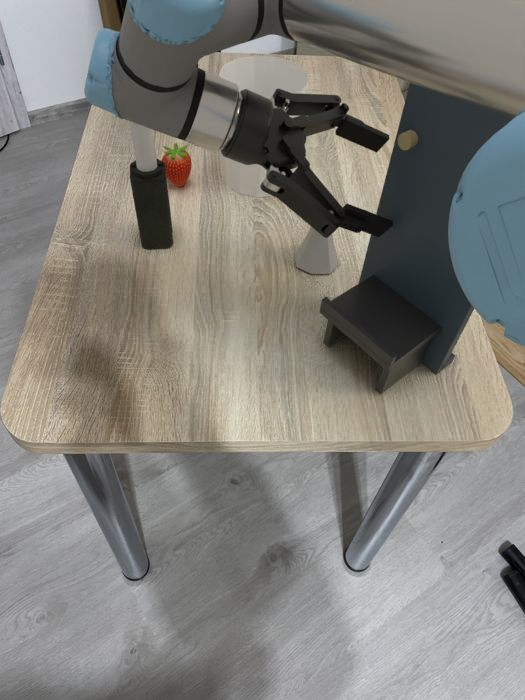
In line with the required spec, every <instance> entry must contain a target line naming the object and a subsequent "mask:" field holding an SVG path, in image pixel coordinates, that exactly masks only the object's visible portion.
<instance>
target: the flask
mask: <svg viewBox="0 0 525 700" xmlns="http://www.w3.org/2000/svg"><path fill="white" fill-rule="evenodd" d="M329 212H330V213H333V211H331V210H330V211H329ZM294 261H295V266H296V268H298V269H300V270H302V271H304V272H306V273H308V274H310V275H330V274H332V273H333V271H334V270H335V269H336V268H337V266H339V264H340V263H339V257H338V254H337V250H336V247H335V241H334V236H333V233H332V234H331V235H330V236H329V237H328V238H325V237H323V236H322V235H321V234H319V233H318V232H317V231H316V230H315V229H314V228H312V227H311V226H310V229H309V230H308V232H307V234H306V236H305V237H304V239H303V241H302V242H301V243H300V245H299V247H298V248H297V249H296V251H295V252H294Z"/></svg>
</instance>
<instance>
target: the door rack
mask: <svg viewBox="0 0 525 700" xmlns="http://www.w3.org/2000/svg"><path fill="white" fill-rule="evenodd" d="M405 97H406V98H405V100H404V103H403V108H402V111H401V116H400V120H399V124H398V127H397V131H396V135H395V139H394V143H393V147H392V151H391V155H390V159H389V161H388V162H389V163H388V166H387V171H386V175H385V178H384V183H383V186H382V191H381V194H380V198H379V201H378V206H377V209H376V213H375V214H376V215H379V216H381V217H384V218H387V219H389V220H392V221H393V226H392V227H391V228H390V229H388V230H387V231H386V232H385V233H384V234H382V235H381V236H380V237H377V236H374V235H371V234H370V237H369V240H368V245H367V248H366V252H365V256H364V260H363V264H362V268H361V271H360V272H361V273H360V276H359V280H358V283H357V284H355V285H354V286H353V287H351V288H349V289H347V290H346V291H344V292H342V293H341V294H339V295H338V296H337V297H335V298H333V299H331V298H328V297H327V296H325V297H323V298H321V301H320V307H319V314H320V315H322V316H323V317H324V318H325V319H326V320H327V324H326V328H325V333H324V338H323V345H325V346H326V347H327V348H329V347H331V346H332V345H334V344H335V343H337V342H338V341H340V340H341V339H343V338H344V337H345V336H346V337H347V338H348V339H349V340H351V341H352V342H353V343H355V344H356V345H357V346H358V347H359V348H360V349H361V350H363V351H364V352H365V353H366V355H368V356H370V357H371V358H372V360H374V361H375V362H376V363H378V364H379V365H380V366H381V367H382V370H381V373H380V375H379V378H378V381H377V384H376V386H375V392H377V393H378V394H379V395H382V394H383V393H385V392H386V391H387V390H389V389H390V388H391V387H392V386H394V385H395V384H396V383H397V382H399V381H401V380H402V379H403V378H404V377H406V376H407V375H408V374H410V373H411V372H413V370H415V369H416V368H418V367H419V366H420V365H421V363H422V364H423V365H424V366H425V367H427V369H429V370H430V371H432V373H434V374H436V375H438V374H439V373H440V372H441V371H443V370H444V369H445V368H446V367H448V366H449V365H450V364H452V363H453V362H454V359H455V357H456V355H455V354H454V353H453V351H454V349H455V347H456V345H457V343H458V341H459V339H460V337H461V335H462V333H463V332H464V330H465V328H466V326H467V324H468V322H469V320H470V318H471V316H472V314H473V313H474V310H475V309H474V307H473V306H472V304H471V303H470V302H469V300H468V299H467V297H466V295H465V294H464V292H463V290H462V288H461V286H460V284H459V282H458V279H457V276H456V274H455V271H454V268H453V264H452V260H451V255H450V249H449V240H448V224H449V214H450V209H451V204H452V200H453V197H454V195H455V193H456V192H457V188H458V185H459V182H460V179H461V177H462V174H463V172H464V170H465V169H466V167H467V165H468V164H469V162H470V161H471V160H472V158H473V157H474V155H475V154H476V153H477V151H478V150H479V149H480V148H481V147H482V146H483V145H484V144H485V143H486V142H487V141H488V140H489V139H490V138H491V137H492V136H493V135H494V134H495V133H496V132H498V131H499V130H500V129H502V128H503V127H504V126H506V125H507V124H508V123H509V122H510V121H511V119H508V118H506V117H503V116H500V115H497V114H495V113H492V112H489V111H486V110H484V109H481V108H478V107H475V106H473V105H470V104H467V103H465V102H462V101H459V100H456V99H454V98H451V97H448V96H445V95H443V94H440V93H437V92H434V91H432V90H429V89H426V88H424V87H421V86H418V85H415V84H413V83H410V82H409V84H408V89H407V92H406V96H405Z"/></svg>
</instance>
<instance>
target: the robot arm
mask: <svg viewBox="0 0 525 700" xmlns="http://www.w3.org/2000/svg"><path fill="white" fill-rule="evenodd" d="M267 36H279V37H281V38H284V39H287V40H290V41H293V42H295V43H299V44H304V45H306V46H309V47H312V48H315V49H317V50H320V51H322V52H325V53H328V54H331V55H333V56H336V57H339V58H341V59H345V60H346V61H349V62H353V63H355V64H358V65H360V66H363V67H366V68H369V69H371V70H375V71H377V72H380V73H382V74H385V75H388V76H391V77H393V78H397V79H399V80H401V81H404V82H407V83H409V84H410V83H413V84H415V85H418V86H421V87H424V88H426V89H429V90H432V91H434V92H437V93H440V94H443V95H445V96H448V97H451V98H454V99H456V100H459V101H462V102H465V103H467V104H470V105H473V106H475V107H478V108H481V109H484V110H486V111H489V112H492V113H495V114H497V115H500V116H503V117H506V118H508V119H511V121H510V122H509V123H508V124H507V125H506V126H504V127H503V128H502V129H500V130H499V131H498V132H496V133H495V134H494V135H493V136H492V137H491V138H490V139H489V140H488V141H487V142H486V143H485V144H484V145H483V146H482V147H481V148H480V149H479V150H478V151H477V153H476V154H475V155H474V157H473V158H472V160H471V161H470V162H469V164H468V165H467V167H466V169H465V170H464V172H463V174H462V177H461V179H460V182H459V185H458V188H457V192H456V193H455V195H454V197H453V200H452V204H451V209H450V214H449V224H448V240H449V249H450V255H451V260H452V264H453V268H454V271H455V274H456V276H457V279H458V282H459V284H460V286H461V288H462V290H463V292H464V294H465V295H466V297H467V299H468V300H469V302H470V303H471V304H472V306H473V307H474V310H475V311H476V312H477V314H478V315H479V316H480V318H482V319H483V320H484V321H485V322H486V323H487V324H490V325H493V324H498V325H500V326H502V327H503V328H504V332H503V336H504V337H505V338H506V339H508V340H510V341H512V342H514V343H515V344H517V345H519V346H521V347H522V348H525V0H126V4H125V9H124V13H123V18H122V22H121V27H120V30H118V31H117V30H113V29H110V28H106V27H104V28H103V27H102V28H101V29H99V30H98V31H97V34H96V36H95V39H94V44H93V48H92V52H91V55H90V60H89V65H88V68H87V73H86V74H87V76H86V79H85V83H84V90H83V93H84V97H85V99H86V101H87V103H89V104H90V105H92V106H94V107H96V108H99V109H101V110H104V111H105V112H108V113H110V114H112V115H115V117H116V118H118V119H121V120H125V121H128V122H130V121H131V122H133V123H136V124H139V125H142V126H144V127H147V128H150V129H153V131H155V132H158V133H161V134H164V135H165V136H166V135H167V136H170V137H172V138H175V139H178V140H181V141H183V142H185V143H188V144H191V145H194V146H196V147H199V148H200V149H204V150H206V151H209V152H211V153H218V152H219V151H220V150H221V153H222V155H223V156H224V157H226V158H229V159H231V160H234V161H237V162H239V163H242V164H245V165H252V164H258V165H261V166H262V167H263V168H265V169H266V170H267V173H266V177H265V179H264V181H263V182H262V184H261V185H260V187H261V189H262V191H264V192H266V193H268V194H270V195H272V196H271V197H274V198H276V199H278V200H279V201H280V202H281V203H283V204H284V205H285V206H286V207H287V208H288V209H290V210H291V211H292V212H293V213H295V214H296V215H297V216H298V217H299V218H300V219H302V220H303V221H304V222H305V223H306V224H308V226H310V228H311V227H312V228H314V229H315V230H316V231H317V232H318V233H319V234H321V235H322V236H323V237H325V238H328V237H329V236H330V235H331V234H332V235H333V233H335V232H336V231H337V230H338V228H341V229H343V230H347V231H349V232H352V233H356V234H360V233H361V232H363V233H365V234H368V235H370V236H371V235H374V236H377V237H380V236H381V235H382V234H384V233H385V232H386V231H387V230H388V229H390V228H391V227H392V226H393V221H392V220H389V219H387V218H384V217H381V216H379V215H376V213H374V212H371V211H368V210H366V209H363V208H361V207H358V206H355V205H353V204H350V203H345V205H344V206H342V205H341V204H340V202H339V201H338V200H337V199H336V198H335V197H334V195H333V194H332V193H331V192H330V191H329V189H328V188H327V186H326V185H325V184H324V183H323V182H322V181H321V180H320V178H319V177H318V176H317V175H316V174H315V173H314V171H313V170H312V169H311V163H310V162H309V159H307V158H306V155H307V150H306V143H307V138H308V137H310V136H313V135H316V134H319V133H323V132H326V131H329V130H333V129H335V128H336V127H337V128H336V129H335V133H334V134H335V136H337V137H340V138H341V139H345V140H347V141H349V142H351V143H354V144H356V145H359V146H360V147H363V148H365V149H367V150H370V151H371V152H374V153H378V152H379V151H380V150H381V149H382V148H383V147H384V146H385V145H386V144H387V143H388V142H389V141H390V134H388V133H386V132H384V131H382V130H380V129H377V128H375V127H373V126H371V125H368V124H367V123H365V122H364V121H363V120H361V119H359V118H357V117H355V116H353V115H351V114H348V112H349V110H350V107H349V106H348V104H347V103H344V102H342V98H341V97H340V96H339V95H337V94H320V93H308V94H298V93H290V92H287V91H284V90H282V89H276V90H275V92H274V94H273V95H272V97H271V99H268V98H265V97H263V96H261V95H259V94H256V93H254V92H252V91H250V90H247V89H244V90H241V91H240V92H239V88H238V86H237V84H235V83H233V82H230V81H228V80H226V79H223V78H221V77H219V75H216V74H213V73H212V72H209V71H206V70H204V69H202V68H200V67H198V68H196V65H197V63H198V64H199V61H200V60H201V59H202V58H204V57H207V56H209V55H213V54H215V53H218V52H221V51H224V50H226V49H230V48H233V47H236V46H239V45H241V44H245V43H249V42H252V41H254V40H258V39H260V38H264V37H267ZM289 116H298V117H294V118H292V117H289ZM297 166H298V167H297ZM296 167H297V169H296V170H295V171H294V173H293V172H292V171H291V170H290V169H294V168H296ZM330 210H331V211H333V213H330V212H329V211H330Z"/></svg>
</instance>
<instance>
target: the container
mask: <svg viewBox="0 0 525 700" xmlns="http://www.w3.org/2000/svg"><path fill="white" fill-rule="evenodd" d="M218 77H221V78H223V79H226V80H228V81H230V82H233V83H235V84H237V86H238V88H239V92H240V91H241V90H244V89H247V90H250V91H252V92H254V93H256V94H259V95H261V96H263V97H265V98H268V99H271V97H272V95H273V94H274V92H275V90H276V89H282V90H284V91H287V92H290V93H298V94H309V84H310V78H309V76H308V73H307V70H306V69H305V68H303V67H302V66H300V65H299V64H298V63H296V62H295V61H293V60H290V59H287V58H286V59H285V58H282V57H279V56H275V55H257V54H254V55H248V56H243V57H236V58H234V59H232V60H231V61H229V62H227V63H225V64H223V65H222V67H221V69H220V71H219V74H218ZM289 117H292V118H294V117H298V116H289ZM219 151H220V152H219V156H220V157H219V159H220V160H219V161H220V162H219V163H220V165H219V166H220V176H221V178H222V180H223V182H224V184H225V186H227V187H229V188H230V189H231V190H234V191H235V192H237V193H238V194H239V195H245V196H250V197H254V198H255V197H256V198H265V197H266V198H267V197H273V196H272V195H270V194H268V193H266V192H264V191H262V189H261V187H260V185H261V184H262V182H263V181H264V179H265V177H266V173H267V170H266V169H265V168H263V167H262V166H261V165H258V164H252V165H245V164H242V163H239V162H237V161H234V160H231V159H229V158H226V157H224V156H223V155H222V153H221V150H219ZM297 167H298V166H297ZM297 167H296V168H294V169H290V170H291V171H292V172H293V173H294V171H295V170H296V169H297Z"/></svg>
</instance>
